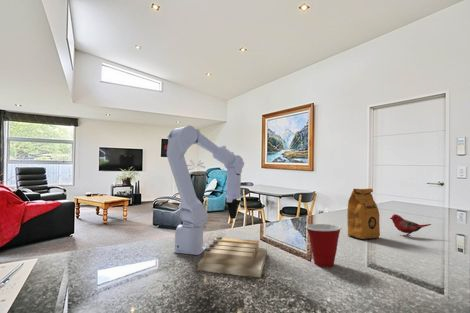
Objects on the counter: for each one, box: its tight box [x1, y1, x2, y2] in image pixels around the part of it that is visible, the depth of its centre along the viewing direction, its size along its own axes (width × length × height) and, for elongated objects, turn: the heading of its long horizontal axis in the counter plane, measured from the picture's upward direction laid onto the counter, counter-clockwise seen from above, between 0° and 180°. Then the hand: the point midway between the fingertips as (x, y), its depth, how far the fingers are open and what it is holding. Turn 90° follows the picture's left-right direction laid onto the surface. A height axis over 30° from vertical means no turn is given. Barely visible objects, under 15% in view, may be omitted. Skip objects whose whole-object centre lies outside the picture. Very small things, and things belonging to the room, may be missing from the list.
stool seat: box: [197, 240, 268, 278], centre depth 78 cm, size 18×19×5 cm
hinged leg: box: [213, 236, 260, 253], centre depth 84 cm, size 15×3×3 cm, turn 78°
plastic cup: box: [305, 223, 342, 268], centre depth 78 cm, size 11×11×12 cm
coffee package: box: [346, 188, 381, 240], centre depth 112 cm, size 10×12×22 cm
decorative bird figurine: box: [389, 213, 432, 237], centre depth 114 cm, size 3×18×10 cm, turn 82°
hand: (232, 218), depth 101 cm, fingers closed
